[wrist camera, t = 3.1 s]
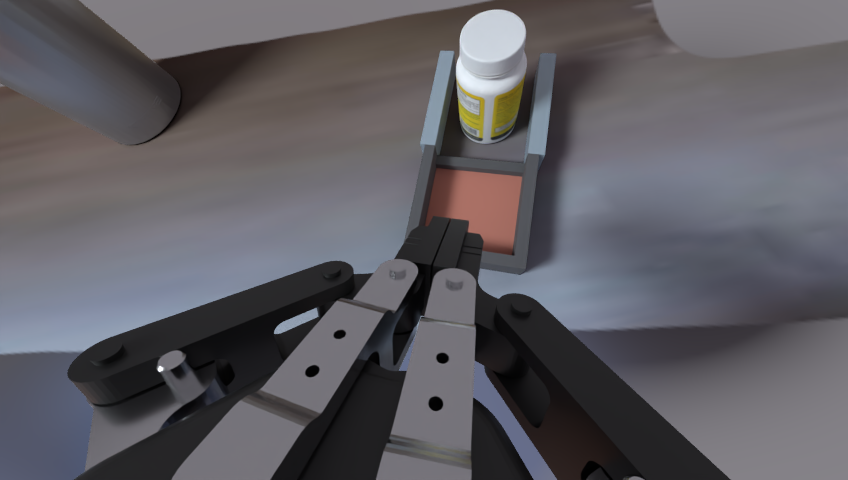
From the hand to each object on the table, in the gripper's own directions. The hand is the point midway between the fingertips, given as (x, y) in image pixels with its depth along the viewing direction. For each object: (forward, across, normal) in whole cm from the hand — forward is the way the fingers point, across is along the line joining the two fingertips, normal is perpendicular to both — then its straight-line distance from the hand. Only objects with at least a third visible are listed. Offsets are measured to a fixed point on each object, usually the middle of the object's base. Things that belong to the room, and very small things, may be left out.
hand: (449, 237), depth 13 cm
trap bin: (+11, 0, +4) cm, 12 cm away
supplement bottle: (+18, 0, -2) cm, 18 cm away
